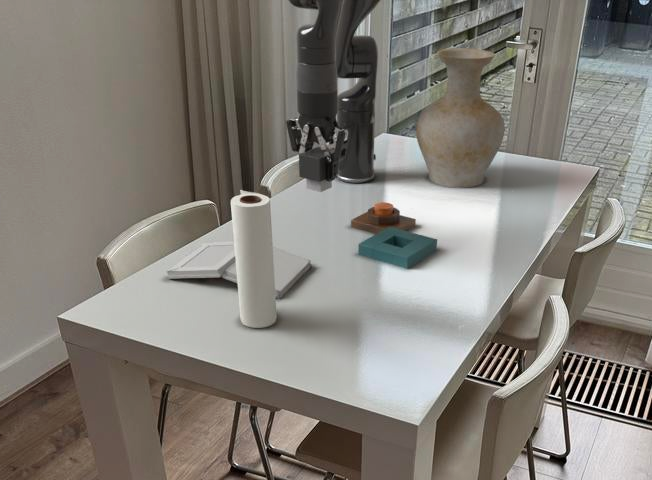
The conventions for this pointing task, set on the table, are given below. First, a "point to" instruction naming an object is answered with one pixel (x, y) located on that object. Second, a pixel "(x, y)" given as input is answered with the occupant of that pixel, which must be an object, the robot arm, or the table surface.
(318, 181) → the black block
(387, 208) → the power button
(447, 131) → the vase
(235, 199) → the paper towel roll
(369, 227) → the switch box
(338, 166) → the robot arm
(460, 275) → the table surface
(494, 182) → the table surface
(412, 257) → the teal square frame
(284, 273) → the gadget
